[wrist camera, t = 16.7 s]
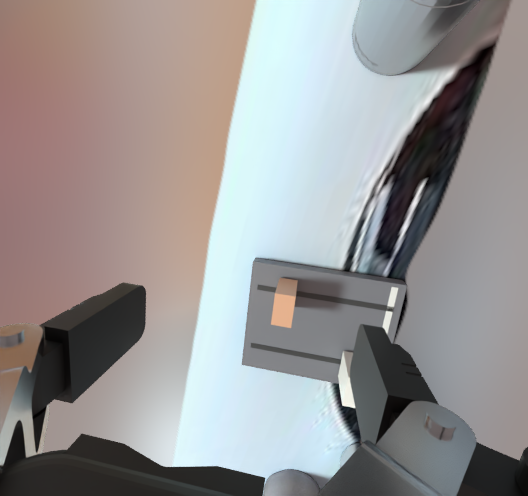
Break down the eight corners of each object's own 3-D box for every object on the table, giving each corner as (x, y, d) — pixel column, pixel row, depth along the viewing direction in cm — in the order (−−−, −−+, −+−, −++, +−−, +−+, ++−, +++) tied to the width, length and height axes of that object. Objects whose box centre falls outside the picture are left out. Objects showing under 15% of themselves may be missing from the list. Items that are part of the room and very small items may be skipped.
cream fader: (338, 375, 41) (342, 405, 36) (343, 350, 40) (348, 377, 35) (355, 379, 41) (362, 409, 36) (361, 354, 40) (369, 381, 35)
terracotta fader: (276, 305, 40) (270, 324, 35) (279, 277, 39) (275, 293, 34) (293, 308, 40) (291, 328, 35) (297, 280, 39) (295, 296, 34)
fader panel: (244, 356, 46) (241, 365, 44) (255, 257, 42) (252, 261, 40) (377, 382, 43) (381, 392, 41) (402, 280, 39) (407, 285, 37)
